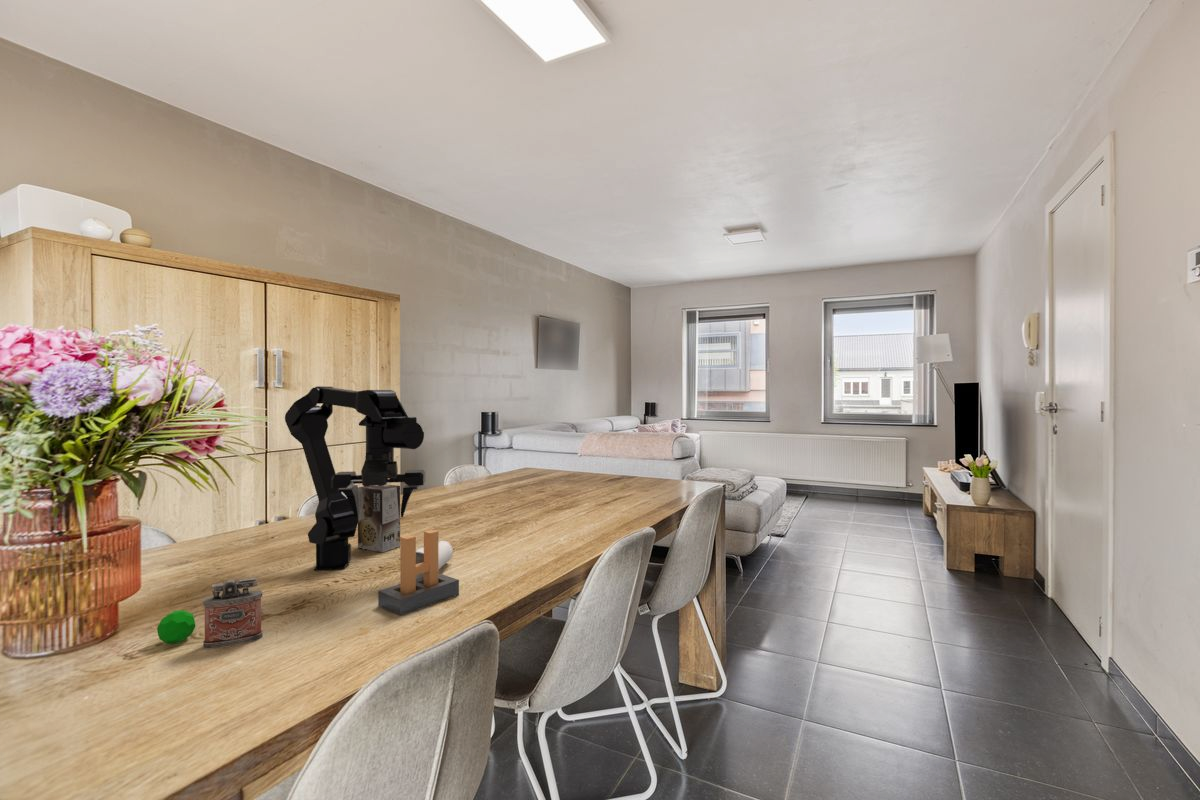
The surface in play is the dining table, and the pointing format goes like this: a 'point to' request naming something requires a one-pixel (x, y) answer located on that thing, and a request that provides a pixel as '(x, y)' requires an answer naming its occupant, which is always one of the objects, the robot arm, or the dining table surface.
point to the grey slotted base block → (417, 595)
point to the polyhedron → (176, 627)
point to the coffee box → (379, 517)
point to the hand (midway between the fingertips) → (380, 517)
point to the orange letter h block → (427, 567)
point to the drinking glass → (443, 555)
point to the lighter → (232, 614)
